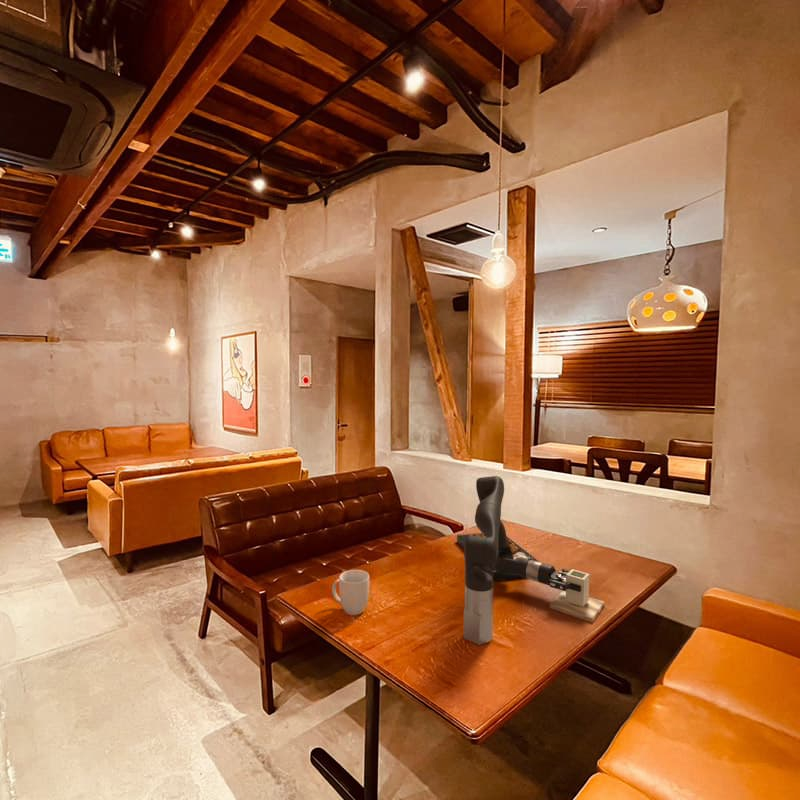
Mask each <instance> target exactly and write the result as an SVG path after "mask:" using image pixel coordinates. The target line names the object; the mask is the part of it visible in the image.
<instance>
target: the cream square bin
mask: <svg viewBox="0 0 800 800" xmlns="http://www.w3.org/2000/svg"><path fill="white" fill-rule="evenodd" d="M590 576H591V575H590V573H587V572H583V571H579V570H577V569H571V570H570V572H569V573H568V574H566V581H568V582H570V583H573V584H577V585H580V586H581V592H577V591H574V590H571V589H570V590H567V589H566V601H567V602H570V603H573V604H576V605H579V606H582V607H584V605H585V604H586V603H587V602H588V601H589V597H590Z"/></svg>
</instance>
